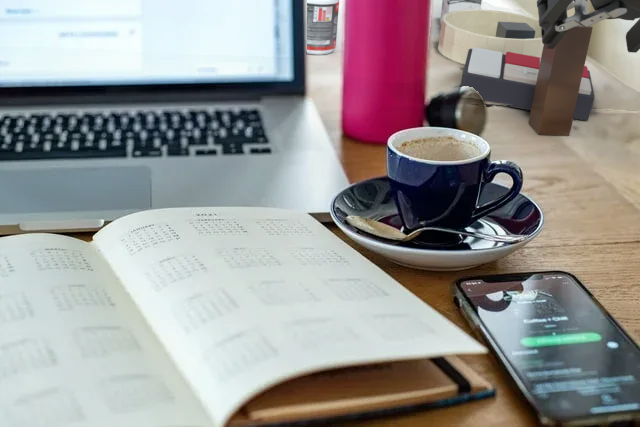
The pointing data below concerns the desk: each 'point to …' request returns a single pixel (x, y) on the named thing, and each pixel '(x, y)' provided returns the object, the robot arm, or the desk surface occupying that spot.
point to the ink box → (459, 6)
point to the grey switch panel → (515, 80)
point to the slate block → (514, 30)
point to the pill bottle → (322, 26)
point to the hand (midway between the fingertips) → (588, 42)
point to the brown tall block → (559, 83)
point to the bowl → (484, 34)
